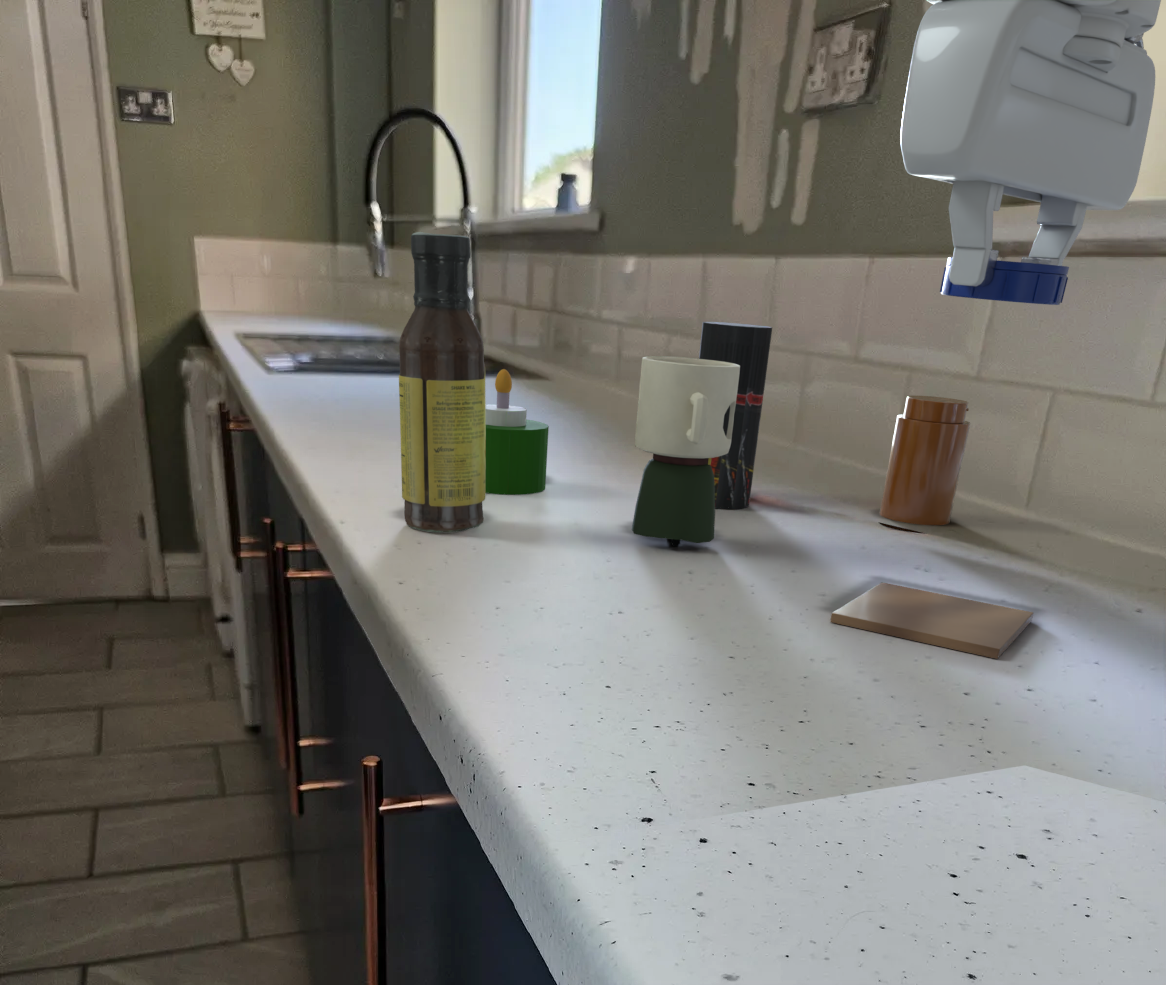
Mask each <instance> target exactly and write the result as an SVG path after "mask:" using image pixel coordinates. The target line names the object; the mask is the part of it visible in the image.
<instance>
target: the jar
mask: <svg viewBox="0 0 1166 985" xmlns="http://www.w3.org/2000/svg"><path fill="white" fill-rule="evenodd" d="M967 412H969V401H967V400H963V399H958V398H950V397H944V396H943V397H942V396H934V395H933V396H932V395H908V396H906V399H905V406H904V411H903V414H898V415H896V422H895V426H894V433H893V437H892V444H891V448H890V454H889V460H888V465H887V470H886V474H885V475H886V476H885V481H884V486H883V492H882V497H881V503H880V509H879V515H880V516H881V517H882V518H885V519H888V520H892V521H896V522H900V523H905V524H912V525H921V526H945V525H948V524H950V523H951V518H952V514H953V508H954V503H955V499H956V493H957V490H958V486H959V485H958V484H959V480H960V476H961V471H962V467H963V466H962V465H963V461H964V456H965V452H966V446H967V442H968V437H969V433H970V428H971V424H972V423H971V422H970V421H967V420H966V417H967V414H968V413H967ZM878 524H879V525H881V526H883V527H885V528H888V529H892V530H897V531H901V532H905V533H906V532H907V533H912V534H913V533H914V534H924V535H927V534H928V533H927V532H922V531H918V530H915V529H909V528H906V527H901V526H897V525H896V526H895V525H892V524H888V523H884V522H879V521H878Z"/></svg>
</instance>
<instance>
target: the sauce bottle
mask: <svg viewBox="0 0 1166 985" xmlns="http://www.w3.org/2000/svg"><path fill="white" fill-rule="evenodd" d="M410 254H411V258H412V259H413V271H414V272H413V273H414V275H413V276H414V277H413V278H414V294H413V296H412V298H413V301H414V302H413V305H414V309H413V312H412V313H411V315H410V317H409V319H408V321H407V323H406V324H405V326H404V327H403V330H402V333H401V335H400V339H399V343H398V353H399V354H398V355H399V374H398V394H399V395H398V396H399V429H400V430H399V432H400V468H401V497H402V500H404V505H403V506H404V513H403V514H404V522H405V523H406V526H407V527H409V528H411V529H413V530H417V531H422V532H429V533H459V532H464V531H468V530H472V529H474V528H478V527H480V526H481V525H482V524H483V523H484V519H485V518H484V510H483V502H484V501H485V500H486V493H485V470H486V457H485V456H486V405H487V404H486V402H487V401H486V398H487V397H486V366H485V362H484V361H485V358H484V357H485V349H484V348H485V347H484V340H483V337H482V335H481V333H480V330H479V329H478V327H477V325H476V323H475V322H474V319H473V318H472V316H471V314H470V312H469V308H470V306H469V303H470V296H469V291H468V289H469V288H468V284H469V274H468V273H469V272H468V267H469V266H468V265H469V262H470V259H471V256H472V254H471V239H470V237H469V236H467V235H457V234H445V233H444V234H443V233H431V232H422V231H416V232H413V233H412V234H411V235H410Z"/></svg>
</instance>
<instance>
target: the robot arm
mask: <svg viewBox="0 0 1166 985" xmlns="http://www.w3.org/2000/svg"><path fill="white" fill-rule="evenodd" d="M925 1H926V2H928V3H930V4H932V5H931V6H930V7H928V8H927V9H926V11H925V13H924V15H923V16H922V19H921V20H920V23H919V26H918V28H917V32H916V36H915V40H914V44H913V50H912V55H911V60H910V65H909V72H908V77H907V83H906V88H905V89H906V91H905V97H904V103H903V111H902V118H901V126H900V135H899V136H900V137H899V138H900V139H899V140H900V141H899V142H900V149H901V155H902V159H903V165H904V169H905V171H906V172H907V174H909V175H912V176H915V177H919V178H924V179H928V180H929V179H930V180H934V181H938V182H943V183H947V184H952V188H951V195H950V200H949V203H948V215H949V222H950V229H951V238H952V245H953V247H954V249H953V254H952V257H953V258H952V263H951V269H950V274H949V278H950V282H952V283H953V284H954V285H965V286H978V287H985V286H988V285H989V284H990V283H991V282H992V280H993V276H994V267H995V266H996V262H997V260H998V258H999V252H1000V250H997V249H993V240H994V239H993V236H994V235H993V234H994V233H993V232H994V212H999V210H1000V208H1001V204H1002V200H1003V197H1004V196H1008V197H1014V198H1018V199H1023V200H1027V201H1031V202H1032V201H1033V202H1037V203H1040V205H1039V210H1038V214H1037V219H1036V225H1039V226H1040V227H1039V229H1038V231H1037V234H1036V236H1035V239H1034V241H1033V244H1032V246H1031V249H1030V252H1029V254H1028V256H1021V260H1020V262H1024V263H1036V264H1047V265H1058V266H1063V263H1064V260H1066V257H1067V256H1068V254H1069V252H1070V250H1071V248H1072V246H1073V245H1074V244H1075V241H1076V239H1077V238H1078V236H1079V234H1080V232H1081V231H1082V229H1083V225H1084V221H1085V217H1086V212H1087V211H1120V210H1122V209H1123V208H1125V206H1126V205H1127V203H1128V202H1129V200H1130V199H1131V196H1132V195H1133V193H1134V191H1135V188H1136V186H1137V183H1138V178H1139V174H1140V172H1141V171H1140V170H1141V167H1142V166H1141V165H1142V160H1143V155H1144V152H1145V151H1144V150H1145V146H1146V142H1147V141H1146V140H1147V137H1148V132H1149V131H1148V130H1149V126H1150V120H1151V115H1152V109H1153V103H1154V96H1155V88H1156V87H1155V86H1156V67H1155V63H1154V61H1153V59H1152V58H1151V57H1150V56H1149V55H1148V51H1147V50H1146V49H1145V48H1144V47H1145V46H1144V40H1143V37H1144V34H1145V33H1147V32H1149V31H1150V30H1152V28H1154V26H1155V25H1156V22H1157V18H1158V15H1159V10H1160V7H1161V2H1162V0H925ZM1003 195H1004V196H1003Z"/></svg>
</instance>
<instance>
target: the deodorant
mask: <svg viewBox="0 0 1166 985" xmlns="http://www.w3.org/2000/svg"><path fill="white" fill-rule="evenodd" d="M772 333H773V327H772V326H766V325H759V324H758V325H757V324H748V323H738V322H737V323H736V322H722V321H702V326H701V335H700V343H699V344H700V345H699V355H698V359H705V360H715V361H722V362H729V363H734V364H737V365H740V373H739V382H738V390H737V398H736V406H735V413H734V421H733V430H732V439H731V446H730V449H729V452H728V453H727V454H725V455H722V456H719V457H714V458H711V465H710V466H711V467H712V470H713V473H714V487H715V509H721V510H725V509H726V510H737V509H745V508H748V507H750V502H751V493H752V487H753V486H752V485H753V477H754V471H755V464H756V455H757V447H758V441H759V432H760V425H761V418H762V410H763V402H764V395H765V386H766V380H767V372H768V365H769V364H768V363H769V357H770V349H771V341H772Z"/></svg>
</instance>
